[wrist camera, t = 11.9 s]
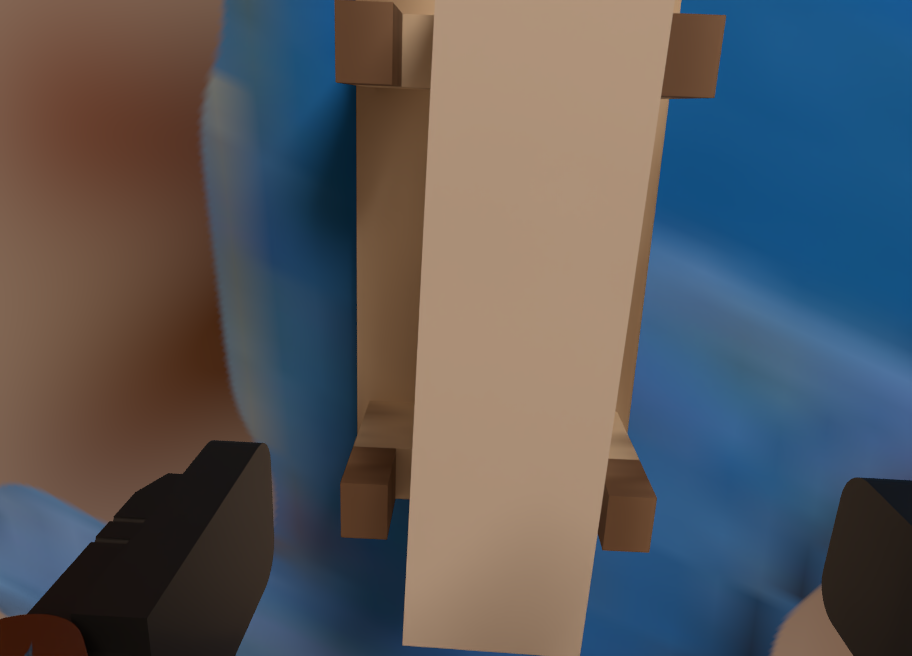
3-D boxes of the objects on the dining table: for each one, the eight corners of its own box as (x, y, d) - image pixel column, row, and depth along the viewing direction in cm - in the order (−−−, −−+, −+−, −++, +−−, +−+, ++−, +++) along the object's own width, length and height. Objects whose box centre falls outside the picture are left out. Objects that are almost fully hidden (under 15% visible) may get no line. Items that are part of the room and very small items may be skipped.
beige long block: (624, -10, 20) (682, -55, 14) (556, 534, 26) (579, 657, 20) (448, -22, 20) (438, -71, 14) (418, 524, 26) (402, 645, 20)
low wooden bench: (672, -19, 25) (759, -73, 17) (612, 481, 31) (656, 604, 23) (362, -31, 25) (313, -89, 18) (363, 469, 31) (326, 587, 24)
